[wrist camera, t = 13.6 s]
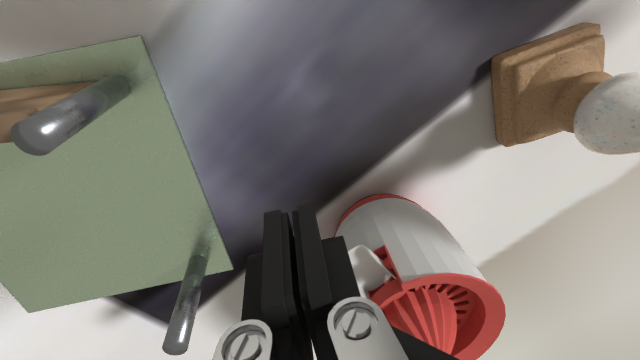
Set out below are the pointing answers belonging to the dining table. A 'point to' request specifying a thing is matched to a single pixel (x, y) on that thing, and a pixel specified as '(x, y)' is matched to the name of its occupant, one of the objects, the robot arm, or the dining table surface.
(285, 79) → the dining table surface
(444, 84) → the dining table surface
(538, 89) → the candle holder
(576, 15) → the dining table surface
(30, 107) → the gate
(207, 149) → the dining table surface
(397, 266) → the citrus juicer
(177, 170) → the gate frame
